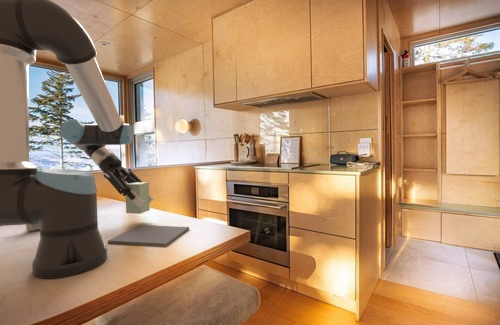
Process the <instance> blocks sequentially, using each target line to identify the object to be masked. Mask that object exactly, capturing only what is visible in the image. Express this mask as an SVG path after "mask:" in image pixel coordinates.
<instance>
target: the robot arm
mask: <svg viewBox="0 0 500 325" xmlns="http://www.w3.org/2000/svg"><path fill="white" fill-rule="evenodd" d="M37 51H50V52H52V53H53V54H54V55H55V57H56V59H57V61H58V62H59V63H60V64H63V65H65V67H66V69H67V70H68V73H69V74H70V76H71V78H72V80H73V81H74V84H75V86H76V87H77V89H78V91H79V93H80V95H81V97H82V98H83V100H84V102H85V104H86V106H87V107H88V110H89V112H90V113H91V115H92V117H93V119H94V121H95V124H88V123H85V124H84V123H82V122H80V121H78V120H76V119H70V120H67V121H65V122H64V123H63V124H62V125H61V126H60V129H59V132H60V134H59V135H60V136H61V137H62V139H64V140H65V141H66V142H67V143H69V144H72V145H74V146H75V147H76V148H78V149H80V150H82V151H83V152H84V153H85V154H86V155H87V156H88V157H89V158H90V159H91V160H92V161H93V163H94V164H95V165H96V166H97V167H98V169H100V171H102V173H103V178H105V179H106V180H107V181H108V182H109V183H110V184H111V185H112V186H113V188H114V189H115V190H116V191H117V192H118V194H119V195H122V197H126V195H127V196H128V197H129V198H130V199H131V200H132V201H133V202H134V203H135V204H136V205H137V207H140V206H141V205H142V204H143V203H144V201H143V200H142V199H141V198H140V197H139V196H138V195H137V194H136V193H135V192H134V191H133V190H131V191H130V188H129V187H128V185H127V184H129V183H134V182H143V181H142V180H141V179H140V178H139V177H138V176H137V175H136V174H135V173H134V171H133V170H132V169H131V168H128V169H126V168H125V167H123V166H122V160H121V159H120V158H119V157H118V155H115V153H114V152H113V151H112V150H111V149H110V148H109V146H114V145H115V146H117V145H118V146H122V145H123V146H124V145H131V144H132V143H133V141H134V129H133V126H132V125H131V124H129V123H123V121H122V119H121V117H120V115H119V112H118V109H117V107H116V105H115V102H114V100H113V98H112V96H111V93H110V91H109V89H108V86H107V83H106V82H105V79H104V76H103V74H102V71H101V69H100V67H99V64H98V62H97V59H96V57H97V56H98V55H97V54H98V52H97V49H96V47H95V45H94V42H93V40H92V39H91V37H90V35H89V34H88V32H87V31H86V30H85V28H84V27H83V25H81V23H80V22H79V21H78V20H77V19H76V18H75V17H74V16H73V15H72V14H71V13H69V12H68V11H67V10H66V9H65V8H64V7H62V6H60V5H59V4H57V3H56V2H54V1H52V0H0V227H3V226H4V227H6V226H7V227H8V226H26V225H27V224H39V225H40V230H39V236H40V238H39V242H38V246H37V249H36V254H35V257H34V259H33V261H32V263H31V268H32V275H33V276H34V277H36V278H39V279H57V278H58V279H59V278H65V277H71V276H74V275H78V274H81V273H85V272H87V271H90V270H93V269H94V268H96V267H98V266H100V265H102V264H103V263H105V262H106V261H107V259H108V249H107V246H106V245H105V244H104V241H103V239H102V238H103V237H102V235H101V233H100V230H99V222H98V202H97V201H98V200H97V197H98V196H97V192H98V188H97V186H96V185H97V184H96V178H95V175H94V174H92V173H91V172H89V171H86V170H79V169H72V168H71V169H70V168H44V169H39V170H38V167H37V166H35V165H34V164H33V163H32V162H31V161H30V130H29V126H30V124H29V122H30V118H29V117H30V116H29V115H30V114H29V111H30V110H29V108H30V107H29V104H30V103H29V67H30V66H31V65H33V64H35V63H36V60H37V59H36V58H37ZM153 200H155V198H154V197H153V196H152V195H151V194H150V193H149V205H150V204H151V203H152V202H153Z"/></svg>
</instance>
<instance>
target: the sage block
mask: <svg viewBox="0 0 500 325" xmlns="http://www.w3.org/2000/svg"><path fill="white" fill-rule="evenodd" d="M149 184H150V183H149V182H147V181H146V182H144V181H142V182H134V183H127V185H128V187H129V188H130V191H131V190H133V191H134V192H135V193H136V194H137V195H138V196H139V197H140V198H141V199H142V200H143V201H144V203H143V204H142V205H141V206H140V207H137V205H136V204H135V203H134V202H133V201H132V200H131V199H130V198H129V197H128V196H127V195H126V196H125V213H126V214H137V215H138V214H140V215H141V214H143V213H145V212H149V211H150V209H151V208H150V204H149V194H150V185H149Z"/></svg>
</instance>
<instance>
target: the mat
mask: <svg viewBox="0 0 500 325" xmlns="http://www.w3.org/2000/svg"><path fill="white" fill-rule="evenodd" d="M188 229H189V230H190V227H189V226H173V225H170V226H169V225H147V224H145V225H144V224H139V225H137V226H135V227H132V228H131V229H129V230H127V231H125V232H123V233H120V234H119V235H117V236H115V237H112V238H110V239H109V240H107V244H116V245H117V244H118V245H136V246H149V247H150V246H151V247H153V246H154V247H156V246H157V247H167V246H169V245H170V244H171V243H173V242H174V241H176V240H177V239H178V238H179V237H181V236H182V235H184V234H185V233H186V232H188V231H189V230H188ZM187 230H188V231H187ZM184 232H185V233H184ZM183 233H184V234H183Z"/></svg>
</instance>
